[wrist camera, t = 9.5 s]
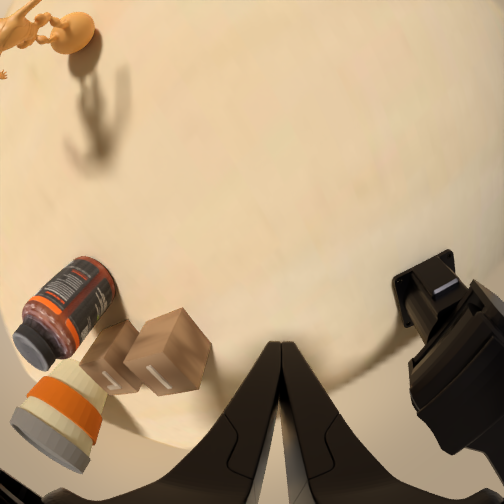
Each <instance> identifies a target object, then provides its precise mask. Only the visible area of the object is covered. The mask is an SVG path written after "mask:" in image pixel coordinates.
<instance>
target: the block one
mask: <svg viewBox="0 0 504 504" xmlns="http://www.w3.org/2000/svg"><path fill="white" fill-rule="evenodd" d="M210 347H211V342H210V341H209V340H208V339H207V337H206V336H205V335H204V334H203V333H202V331H201V330H200V329H199V328H198V326H197V325H196V324H195V322H194V321H193V320H192V319H191V317H190V316H189V315H188V313H187V312H186V311H185V310H184V308H183V307H182V308H180V309H177V310H175V311H172V312H170V313H167V314H165V315H162V316H159V317H157V318H154V319H152V320H149V321H147V322H146V323H145V324H144V326H143V328H142V330H141V331H140V333H139V335H138V337H137V338H136V340H135V342H134V344H133V345H132V347H131V349H130V351H129V353H128V354H127V356H126V358H125V360H124V362H123V363H124V364H125V365H126V366H127V367H128V368H129V369H130V370H131V371H132V372H133V373H134V374H135V375H136V376H137V377H138V378H139V379H140V380H141V381H142V382H143V383H144V384H145V385H146V386H148V387H149V388H150V389H151V390H152V391H153V392H154V393H155V394H156V395H157V396H163V395H170V394H176V393H182V392H188V391H193V390H199V387H200V384H201V380H202V376H203V373H204V369H205V365H206V362H207V358H208V354H209V351H210Z"/></svg>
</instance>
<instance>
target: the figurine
mask: <svg viewBox="0 0 504 504" xmlns="http://www.w3.org/2000/svg"><path fill="white" fill-rule="evenodd" d="M40 1H41V0H31V1H30V2H28V3H27V4H26V5H25V6H23V7H22V8H21V9H19V10H18V11H17V12H15V13H14V14H12V15H11V16H9V17H7V18H0V55H1V53H2V52H3V51H5V50H7V49H10V48H12V47H14V46H16V45H17V47H18V48H20V49H24V48H26V47H28V46H30V45H32V43H33V42H34V41H35V40H36V41H37V43H39V44H45V43H51V46H52V48H53V49H54V50H55V51H56V52H58V53H60V54H72V53H75V52H77V51H79V50H81V49H82V48H84V47H85V46H86V45H87V44H88V43H89V41H90V40H91V38H92V36H93V34H94V29H95V25H94V21H93V19H92V18H91V17H90V16H89V15H88V14H86V13H83V12H74V13H71V14H68V15H66V16H64V17H63V18H61V19H59V18H55V17H52V16H51V14H50V13H48V12H46V13H44V14H38V15H37V16H36V17H35V22H34V23H32V22H30V21H29V20H27V19H26V18H25V15H26V14H27V13H28V12H29V11H30V10H31V9H32V8H33V7H35V6H36V5H37V4H38V3H39V2H40ZM48 21H50V24H51V25H52V26H53V29H52V32H51V35H50V38H49V39H48V38H47V37H46V36H39V35H37V32H38V29H39V28H40V27H43V26H44V25H45V24H47V23H48ZM3 71H4V70H3ZM3 71H2V72H0V79H6V78H7V77H6V78H5V76H7V75H4V74H5V73H6V72H5V73H3Z"/></svg>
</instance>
